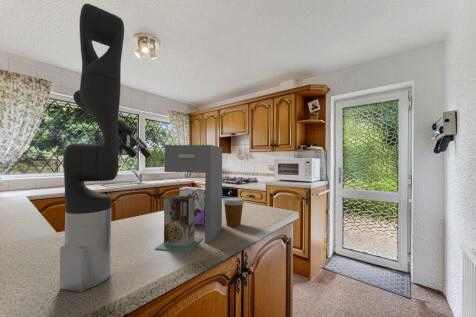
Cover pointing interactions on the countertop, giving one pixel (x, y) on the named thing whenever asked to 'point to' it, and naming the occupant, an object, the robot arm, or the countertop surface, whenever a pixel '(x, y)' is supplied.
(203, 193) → the candy box
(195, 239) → the mat
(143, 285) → the countertop surface
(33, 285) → the countertop surface
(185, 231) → the coffee box
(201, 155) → the grey tall hooked frame
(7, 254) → the countertop surface
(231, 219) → the disposable coffee cup
